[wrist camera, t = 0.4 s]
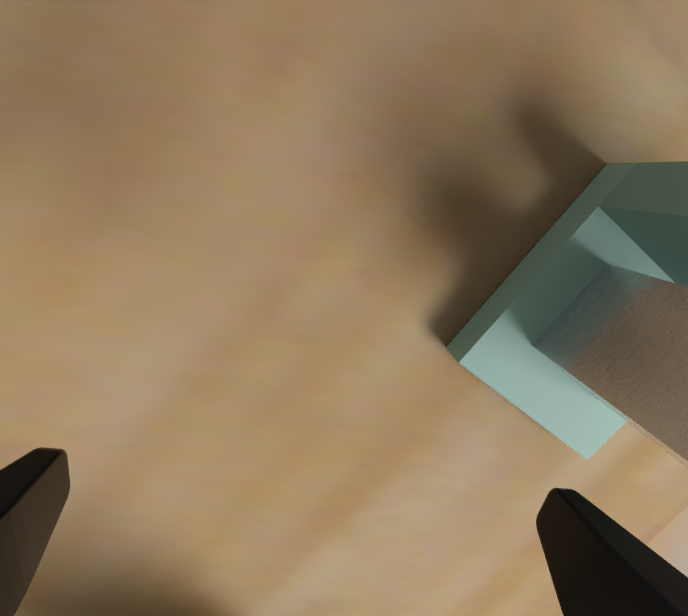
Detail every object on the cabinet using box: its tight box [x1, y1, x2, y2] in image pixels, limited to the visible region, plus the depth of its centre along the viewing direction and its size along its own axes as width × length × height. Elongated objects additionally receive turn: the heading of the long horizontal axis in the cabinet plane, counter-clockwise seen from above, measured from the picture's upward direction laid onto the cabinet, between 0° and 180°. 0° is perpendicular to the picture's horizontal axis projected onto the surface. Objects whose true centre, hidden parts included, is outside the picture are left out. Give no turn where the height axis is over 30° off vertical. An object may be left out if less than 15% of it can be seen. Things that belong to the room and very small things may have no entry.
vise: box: [446, 161, 688, 460], centre depth 20 cm, size 12×10×7 cm
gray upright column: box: [532, 263, 688, 468], centre depth 17 cm, size 5×5×10 cm
